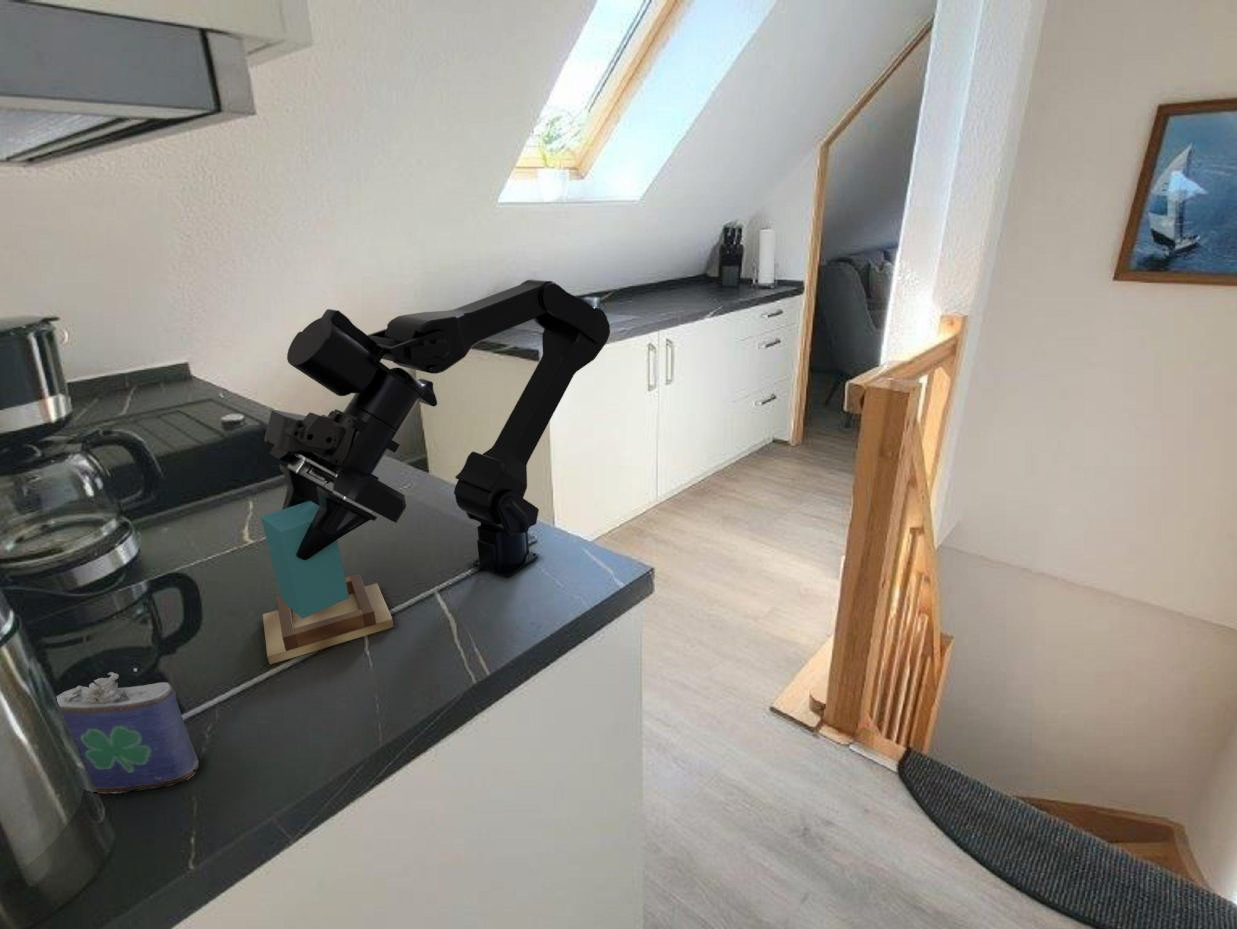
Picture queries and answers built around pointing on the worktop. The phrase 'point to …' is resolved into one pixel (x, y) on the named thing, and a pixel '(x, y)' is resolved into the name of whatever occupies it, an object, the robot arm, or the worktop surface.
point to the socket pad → (326, 623)
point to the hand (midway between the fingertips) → (289, 549)
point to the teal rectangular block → (303, 562)
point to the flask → (129, 734)
